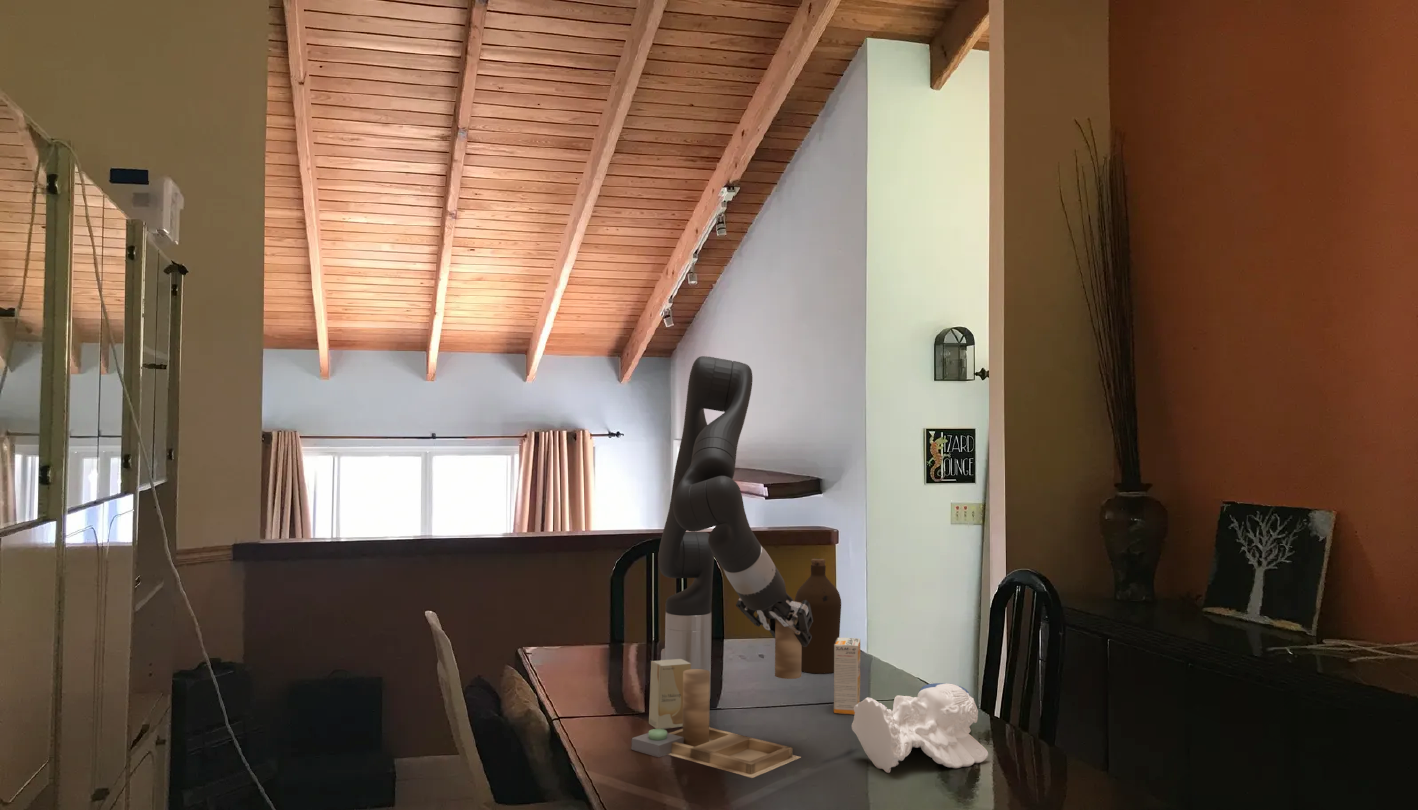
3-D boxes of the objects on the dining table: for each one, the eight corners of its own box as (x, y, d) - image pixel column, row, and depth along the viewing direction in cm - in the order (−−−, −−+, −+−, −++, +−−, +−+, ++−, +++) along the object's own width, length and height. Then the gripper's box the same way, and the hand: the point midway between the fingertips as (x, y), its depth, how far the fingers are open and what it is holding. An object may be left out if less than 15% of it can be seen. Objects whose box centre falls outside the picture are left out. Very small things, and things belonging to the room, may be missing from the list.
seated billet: (676, 745, 162) (677, 672, 162) (694, 739, 165) (695, 667, 166) (697, 751, 159) (698, 676, 159) (714, 745, 162) (715, 671, 163)
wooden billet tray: (644, 755, 160) (644, 738, 161) (695, 737, 170) (695, 721, 171) (752, 785, 147) (752, 767, 147) (801, 764, 157) (801, 747, 157)
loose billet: (769, 676, 163) (770, 603, 164) (784, 671, 167) (785, 600, 167) (791, 680, 160) (792, 606, 161) (806, 675, 164) (807, 603, 164)
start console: (631, 756, 160) (631, 731, 160) (656, 748, 164) (656, 724, 164) (658, 764, 156) (659, 739, 156) (683, 755, 160) (683, 731, 161)
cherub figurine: (842, 691, 163) (939, 667, 171) (850, 766, 162) (946, 739, 171) (889, 708, 151) (990, 682, 159) (897, 789, 150) (998, 759, 159)
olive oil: (850, 669, 224) (851, 559, 225) (820, 676, 217) (820, 563, 218) (814, 662, 232) (815, 555, 233) (784, 668, 225) (785, 558, 226)
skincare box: (657, 736, 171) (659, 665, 171) (647, 730, 175) (648, 660, 175) (691, 732, 174) (692, 662, 174) (680, 725, 178) (681, 657, 178)
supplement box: (858, 715, 186) (859, 645, 187) (833, 713, 187) (833, 644, 188) (860, 704, 194) (861, 637, 195) (836, 702, 195) (836, 636, 196)
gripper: (799, 559, 154) (839, 627, 163) (728, 553, 163) (769, 617, 172) (780, 597, 150) (822, 665, 159) (707, 588, 159) (751, 653, 168)
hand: (794, 640), depth 165 cm, fingers closed on loose billet, 4 cm apart
